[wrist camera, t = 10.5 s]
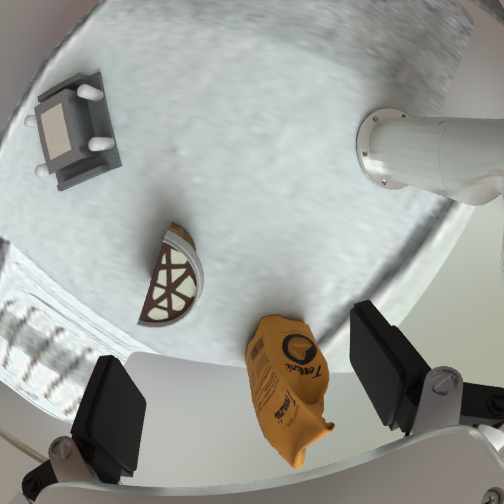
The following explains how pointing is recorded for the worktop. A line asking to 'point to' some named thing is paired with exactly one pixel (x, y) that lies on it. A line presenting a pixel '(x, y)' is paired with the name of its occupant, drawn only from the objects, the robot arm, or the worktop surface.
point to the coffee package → (288, 386)
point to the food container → (173, 281)
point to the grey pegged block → (102, 129)
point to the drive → (65, 131)
